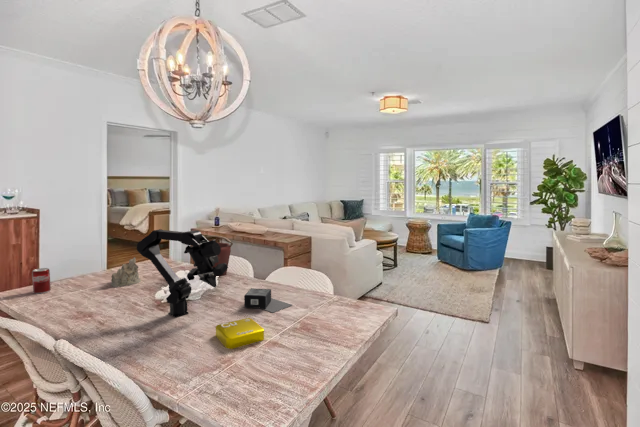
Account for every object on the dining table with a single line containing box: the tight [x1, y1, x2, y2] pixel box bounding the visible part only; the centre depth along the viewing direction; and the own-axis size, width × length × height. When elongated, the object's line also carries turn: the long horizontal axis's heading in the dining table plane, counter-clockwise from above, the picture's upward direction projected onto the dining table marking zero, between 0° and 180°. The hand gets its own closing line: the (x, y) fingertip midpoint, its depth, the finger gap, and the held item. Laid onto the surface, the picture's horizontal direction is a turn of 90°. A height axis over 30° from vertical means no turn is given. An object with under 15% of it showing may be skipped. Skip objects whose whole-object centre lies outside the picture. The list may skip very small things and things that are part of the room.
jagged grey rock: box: [110, 257, 141, 288], centre depth 204 cm, size 16×16×15 cm
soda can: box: [31, 267, 52, 295], centre depth 185 cm, size 7×7×12 cm
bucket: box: [204, 234, 234, 278], centre depth 222 cm, size 24×22×25 cm
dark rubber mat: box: [259, 297, 293, 314], centre depth 171 cm, size 13×16×1 cm
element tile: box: [215, 317, 265, 350], centre depth 136 cm, size 15×15×5 cm
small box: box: [243, 287, 272, 309], centre depth 170 cm, size 11×6×10 cm
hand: (215, 286), depth 159 cm, fingers closed
